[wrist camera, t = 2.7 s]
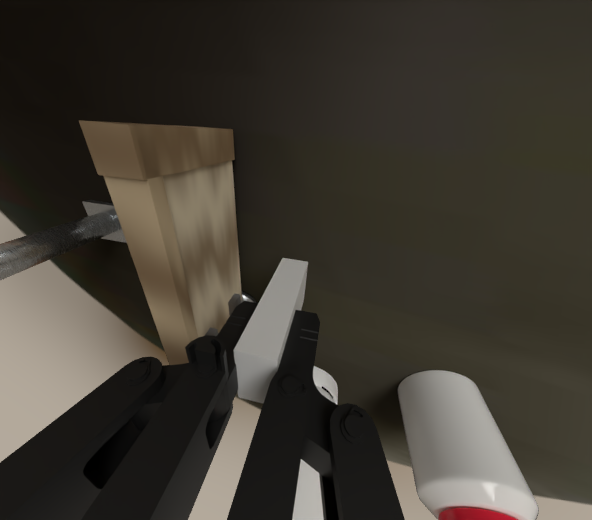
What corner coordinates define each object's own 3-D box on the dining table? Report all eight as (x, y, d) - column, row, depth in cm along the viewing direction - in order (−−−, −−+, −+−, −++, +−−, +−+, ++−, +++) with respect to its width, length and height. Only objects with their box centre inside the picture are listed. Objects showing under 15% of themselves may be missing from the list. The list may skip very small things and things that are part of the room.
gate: (247, 304, 22) (201, 383, 15) (225, 300, 22) (170, 375, 15) (237, 129, 14) (137, 125, 7) (204, 127, 15) (78, 120, 8)
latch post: (88, 199, 21) (-182, 267, 10) (122, 204, 20) (-124, 281, 10) (103, 235, 22) (-113, 324, 12) (134, 240, 22) (-62, 338, 11)
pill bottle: (476, 415, 24) (557, 590, 15) (400, 411, 27) (428, 561, 17) (481, 369, 21) (587, 556, 12) (394, 369, 24) (424, 525, 14)
